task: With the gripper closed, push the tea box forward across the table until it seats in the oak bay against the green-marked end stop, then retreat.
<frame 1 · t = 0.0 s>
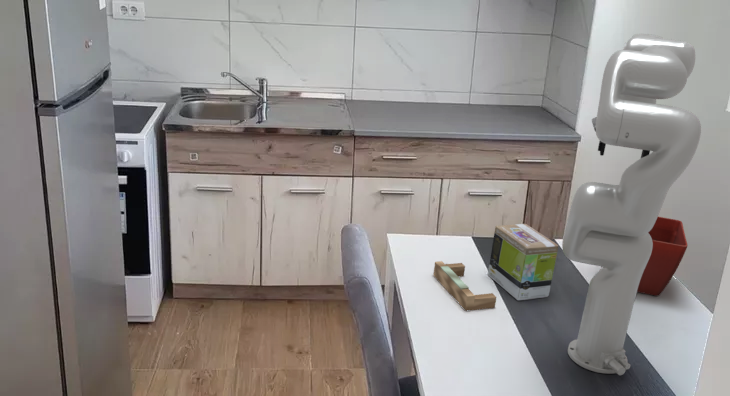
hand: (622, 157, 171), 37 cm above the table, tool pointing down, fingers open, 9 cm apart
plant pot: (632, 282, 192), on the table
tea box: (517, 286, 184), on the table
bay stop: (462, 290, 179), on the table
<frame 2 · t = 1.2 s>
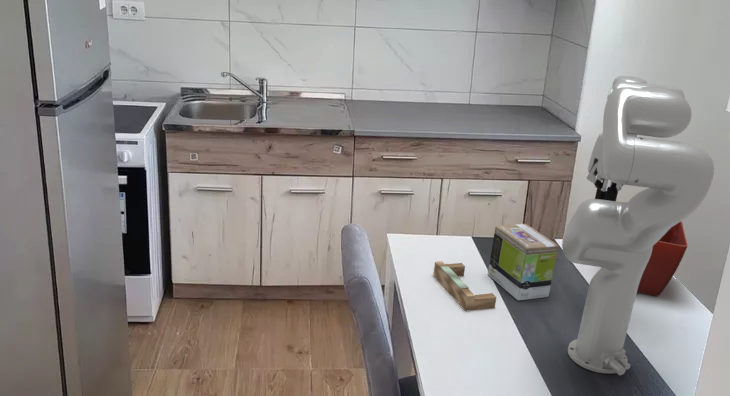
hand: (604, 204, 168), 27 cm above the table, tool pointing down, fingers closed
nothing on the table moved.
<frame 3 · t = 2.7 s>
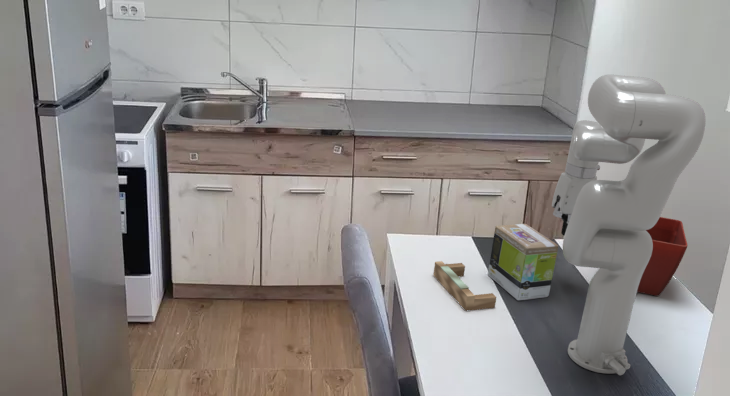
hand: (567, 235, 183), 14 cm above the table, tool pointing down, fingers closed
nothing on the table moved.
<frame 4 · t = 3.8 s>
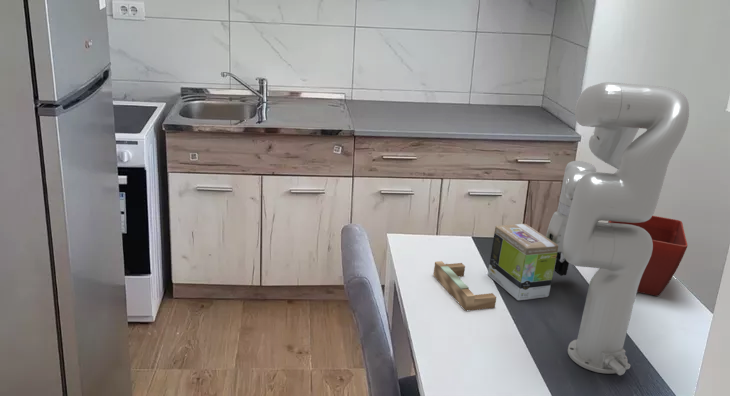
hand: (560, 273, 186), 3 cm above the table, tool pointing down, fingers closed
nothing on the table moved.
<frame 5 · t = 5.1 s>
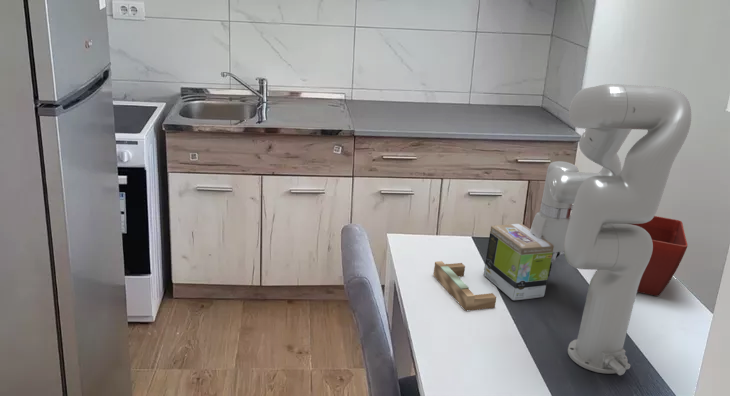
hand: (543, 274, 184), 3 cm above the table, tool pointing down, fingers closed
tea box: (512, 286, 184), on the table
everything else where it was.
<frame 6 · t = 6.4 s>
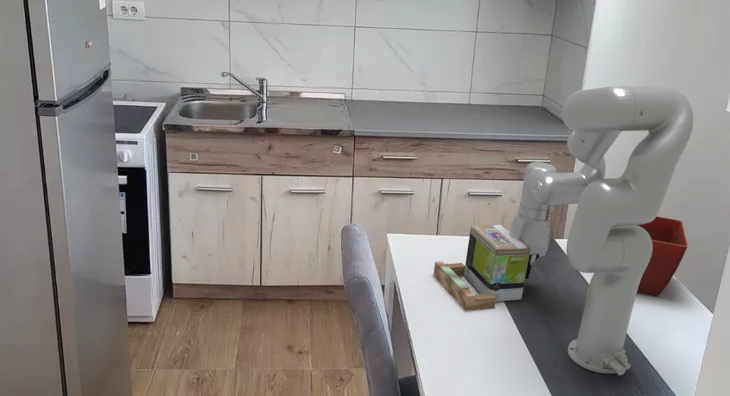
hand: (522, 276, 182), 3 cm above the table, tool pointing down, fingers closed
tea box: (491, 288, 182), on the table, touching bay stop, gripper
everything else where it was.
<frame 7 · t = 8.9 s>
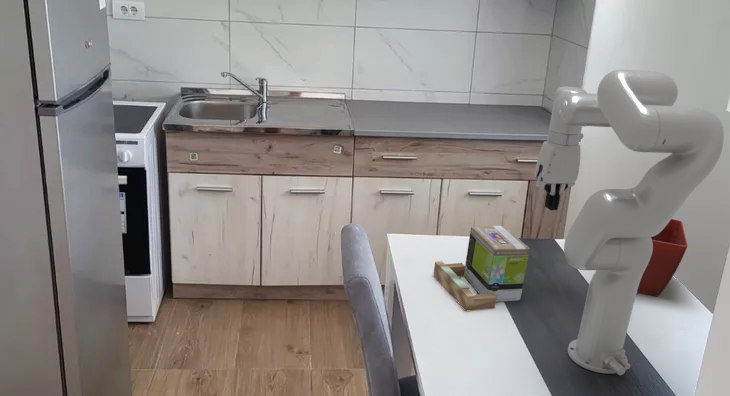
hand: (551, 208, 177), 22 cm above the table, tool pointing down, fingers closed
tea box: (491, 288, 182), on the table
everything else where it was.
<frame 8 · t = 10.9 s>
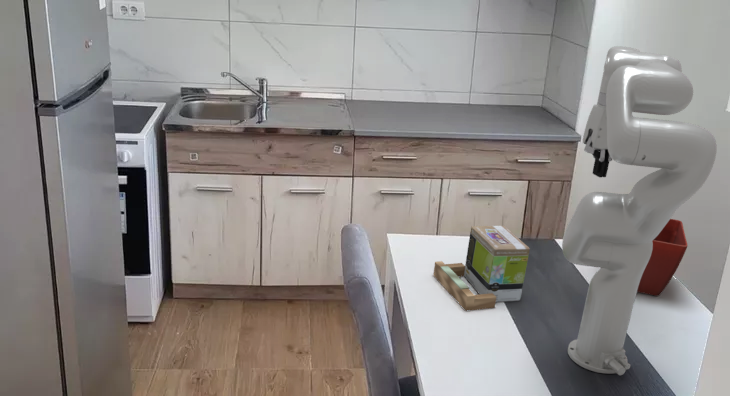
hand: (599, 175, 169), 33 cm above the table, tool pointing down, fingers closed
nothing on the table moved.
at the end: tea box inside the target area (2.1 cm from its centre), on the table; tea box tilted 0°; tea box moved 7.7 cm from its start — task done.
